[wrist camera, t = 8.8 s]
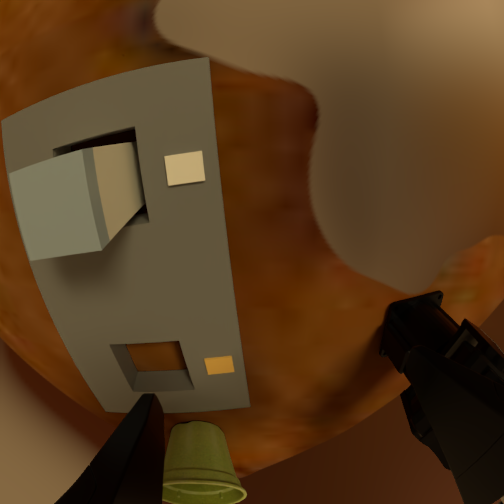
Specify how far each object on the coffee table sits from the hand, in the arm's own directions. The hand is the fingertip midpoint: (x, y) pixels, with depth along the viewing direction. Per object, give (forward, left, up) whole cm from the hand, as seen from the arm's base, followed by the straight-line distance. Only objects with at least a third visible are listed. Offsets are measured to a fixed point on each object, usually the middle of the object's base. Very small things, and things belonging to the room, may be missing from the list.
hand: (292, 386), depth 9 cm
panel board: (+8, +1, -12) cm, 15 cm away
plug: (+8, -6, -12) cm, 16 cm away
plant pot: (+8, +22, -12) cm, 26 cm away
